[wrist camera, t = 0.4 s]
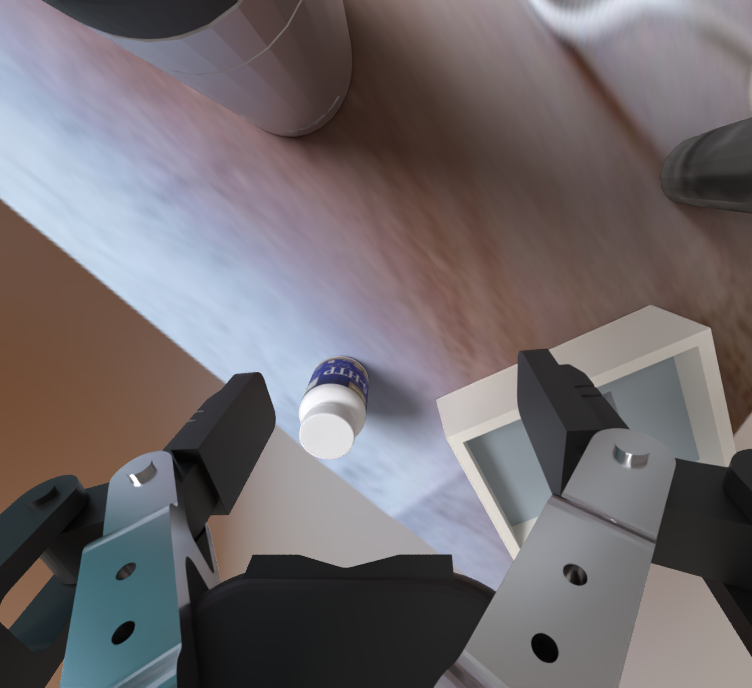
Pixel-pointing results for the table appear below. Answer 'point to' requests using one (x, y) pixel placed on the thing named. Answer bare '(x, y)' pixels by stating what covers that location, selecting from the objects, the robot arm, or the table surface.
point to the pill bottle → (333, 407)
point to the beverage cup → (712, 169)
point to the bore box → (615, 382)
